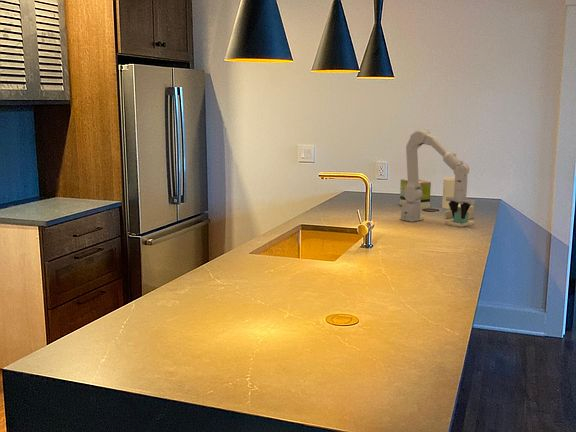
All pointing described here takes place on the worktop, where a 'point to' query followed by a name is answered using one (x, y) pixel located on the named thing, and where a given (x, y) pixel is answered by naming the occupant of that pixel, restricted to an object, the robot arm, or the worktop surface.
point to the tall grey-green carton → (458, 218)
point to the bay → (471, 211)
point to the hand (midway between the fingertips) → (458, 217)
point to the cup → (448, 191)
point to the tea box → (425, 189)
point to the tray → (459, 223)
